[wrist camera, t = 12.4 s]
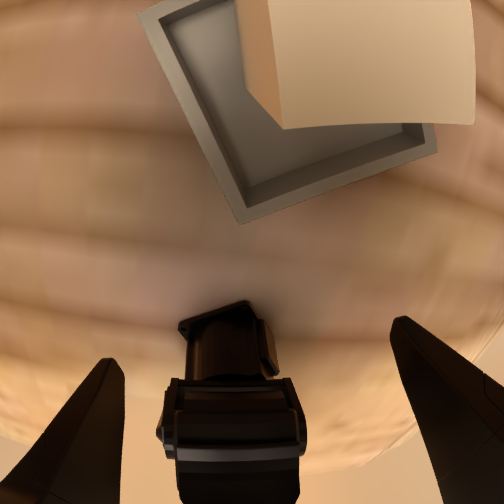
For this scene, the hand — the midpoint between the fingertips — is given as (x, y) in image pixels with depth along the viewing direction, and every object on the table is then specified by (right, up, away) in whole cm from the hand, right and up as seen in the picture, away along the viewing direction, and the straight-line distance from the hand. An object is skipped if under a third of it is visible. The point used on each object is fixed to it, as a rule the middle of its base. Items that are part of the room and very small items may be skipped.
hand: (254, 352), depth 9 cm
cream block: (+2, +14, +5) cm, 15 cm away
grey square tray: (+2, +13, +7) cm, 15 cm away
